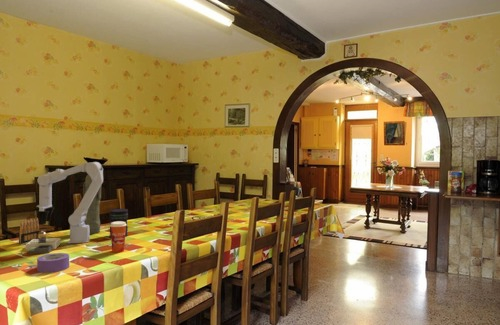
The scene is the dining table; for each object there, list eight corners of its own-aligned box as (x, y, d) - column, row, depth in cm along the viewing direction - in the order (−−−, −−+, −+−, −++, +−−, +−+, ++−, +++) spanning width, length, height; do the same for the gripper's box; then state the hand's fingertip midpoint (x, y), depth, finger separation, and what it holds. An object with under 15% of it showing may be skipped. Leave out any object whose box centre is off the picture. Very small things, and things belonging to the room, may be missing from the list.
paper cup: (110, 253, 172) (110, 224, 171) (108, 249, 178) (109, 221, 178) (127, 251, 175) (128, 223, 175) (125, 248, 182) (125, 220, 182)
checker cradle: (52, 249, 177) (52, 244, 177) (48, 252, 171) (48, 247, 171) (32, 250, 175) (32, 245, 175) (27, 253, 169) (27, 248, 169)
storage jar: (105, 236, 205) (105, 210, 205) (118, 233, 214) (118, 208, 214) (119, 238, 202) (119, 212, 201) (131, 234, 211) (131, 209, 210)
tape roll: (31, 269, 148) (31, 257, 148) (59, 262, 158) (59, 251, 158) (47, 275, 142) (47, 262, 142) (75, 267, 152) (75, 255, 152)
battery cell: (46, 245, 181) (46, 230, 181) (44, 246, 178) (44, 231, 178) (39, 245, 180) (39, 230, 180) (37, 247, 177) (37, 232, 177)
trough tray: (60, 243, 188) (60, 238, 188) (55, 249, 178) (55, 243, 178) (32, 245, 185) (32, 239, 185) (25, 250, 175) (25, 244, 175)
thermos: (96, 234, 209) (96, 174, 208) (78, 233, 211) (78, 174, 210) (105, 231, 218) (105, 174, 217) (88, 230, 220) (88, 173, 219)
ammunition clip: (21, 244, 186) (21, 221, 186) (18, 243, 187) (18, 220, 187) (40, 239, 196) (40, 217, 196) (37, 239, 197) (37, 217, 197)
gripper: (41, 195, 196) (41, 220, 197) (32, 199, 182) (32, 225, 183) (55, 195, 198) (55, 219, 199) (47, 198, 184) (47, 225, 185)
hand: (45, 222), depth 191 cm, fingers open, 7 cm apart
